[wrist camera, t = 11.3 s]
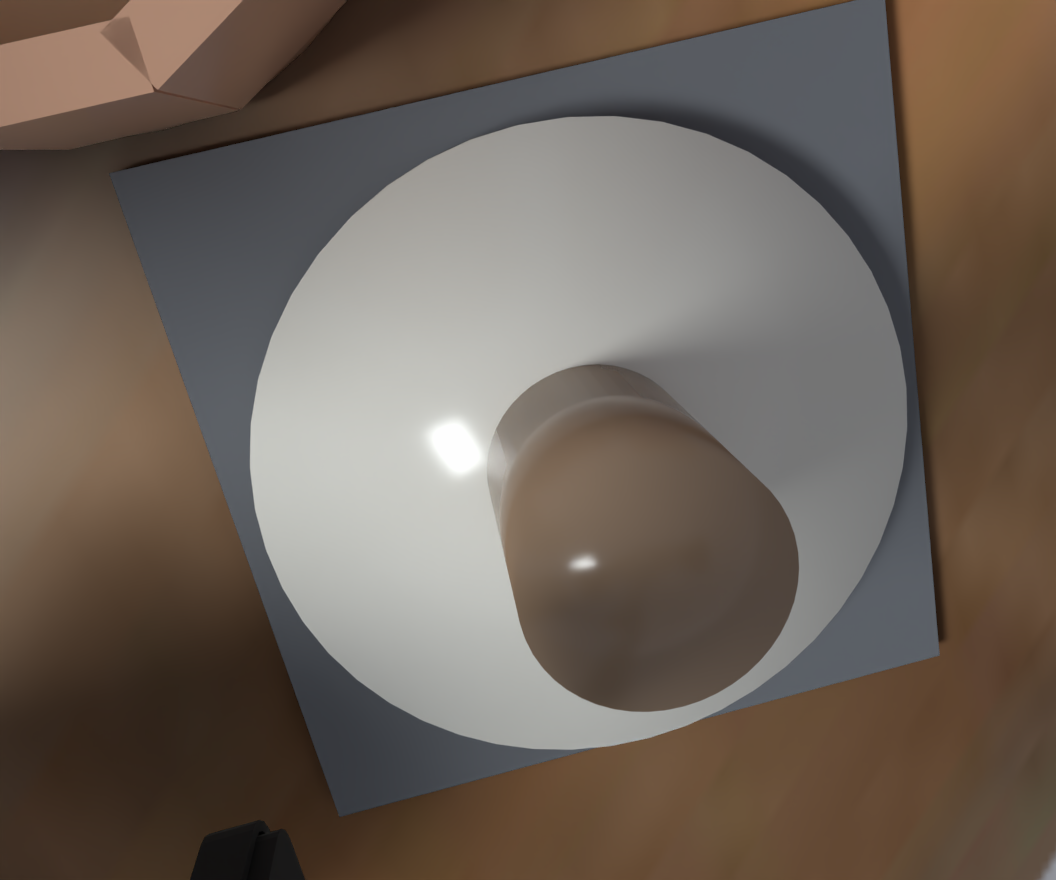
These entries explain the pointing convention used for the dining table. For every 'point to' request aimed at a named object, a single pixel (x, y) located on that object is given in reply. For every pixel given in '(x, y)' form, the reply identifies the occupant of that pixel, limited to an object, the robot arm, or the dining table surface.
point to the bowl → (139, 63)
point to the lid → (578, 432)
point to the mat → (433, 127)
